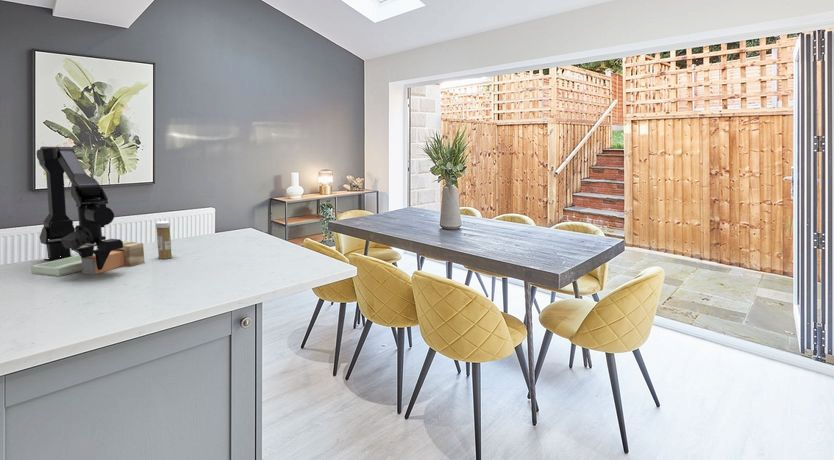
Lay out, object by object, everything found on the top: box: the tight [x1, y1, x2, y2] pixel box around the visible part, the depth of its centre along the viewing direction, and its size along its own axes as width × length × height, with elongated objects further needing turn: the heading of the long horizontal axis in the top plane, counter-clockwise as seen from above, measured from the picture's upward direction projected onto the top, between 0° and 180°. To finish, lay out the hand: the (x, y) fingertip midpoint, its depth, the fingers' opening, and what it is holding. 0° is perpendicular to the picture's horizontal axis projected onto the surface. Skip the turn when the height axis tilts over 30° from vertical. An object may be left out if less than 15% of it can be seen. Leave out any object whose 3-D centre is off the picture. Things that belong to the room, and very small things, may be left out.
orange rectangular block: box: [81, 249, 126, 275], centre depth 154 cm, size 4×14×5 cm, turn 167°
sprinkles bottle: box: [155, 220, 173, 260], centre depth 170 cm, size 5×5×14 cm
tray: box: [30, 253, 95, 277], centre depth 155 cm, size 11×22×2 cm, turn 167°
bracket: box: [111, 240, 145, 267], centre depth 161 cm, size 9×6×7 cm, turn 77°
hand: (94, 269), depth 150 cm, fingers closed on orange rectangular block, 4 cm apart
